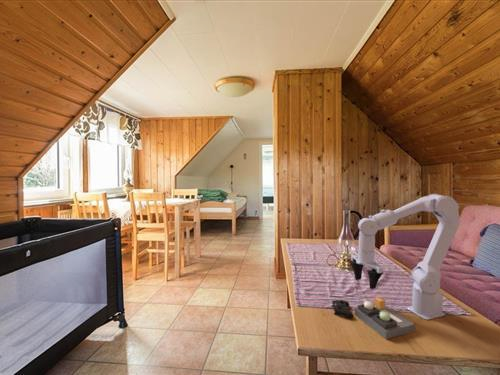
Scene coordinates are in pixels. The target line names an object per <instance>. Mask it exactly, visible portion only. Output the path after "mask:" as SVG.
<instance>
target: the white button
mask: <svg viewBox="0 0 500 375" xmlns="http://www.w3.org/2000/svg"><path fill="white" fill-rule="evenodd" d="M363 304H364V308H365V309H366V310H370V311H371V310H373V304H374V303H373V302H372V301H369V300H365V301H363Z"/></svg>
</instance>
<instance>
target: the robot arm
mask: <svg viewBox="0 0 500 375" xmlns="http://www.w3.org/2000/svg"><path fill="white" fill-rule="evenodd" d="M459 208H460V205H459V203H457V201H456V200H455V199H454V198H453V197H452V196H449V195H442V194H438V193H431V194H429V195H427V196H426V195H425V196H422V197H420V198H418V199H416V200H414V201H411V202H409V203H407V204H405V205H403V206H401V207H399V208H397V209H395V210H391V209H381V210H380V212H379V213H375V214H374V215H368V217H364V218H361V219H360V220H359V221H358V223H357V227H358V230H359V232H358V235H359V236H358V253H357V254H351V255H350V260H351V261H350V262H349V263H350V266H351V268H352V270H353V273H354V274H353V275H354V278H355V280H356V281H360V280H362V276H363V275H362V274H363V268H364V266H365V267H367V268H370V269H368V270H367V271H366V272H367V274H368V279H369V281H368V282H369V285H368V286H369V288H370V289H371V290H374V289H376V288H377V285H378V282H379V280H380V278H381V277H382V275H383V274H384V267H383V266H382V265H380V264H378V263H377V262H376V261H375V254H376V253H375V251H376V234H377V232H378V231H380V230H383V229H386V228H388V227H390V226H393V225H395V224H397V223H398V221H399V219H402V218H405V217H408V216H410V215H414V214H416V213H419V212H429V213H432V214H434V215H435V218H437V220H438V225H437V227H436V230H435V232H434V234H433V236H432V239H431V241H430V244H429V246H428V248H427V250H426V252H425V254H424V257H423V260H421V261H419V262H418V263H417V265H416V266H415V267H414V268H412V270H411V272H410V277H411V280H413V285H412V297H411V300H412V302H411V306H407V307H405V309H406V310H408V311H410V312H411V313H413V314H414V315H416V316H418V317H419V318H422V319H424V320H426V321H428V320H431V319H432V320H433V319H436V318H440V317H444V316H445V315H446V314H445V313H444V312H443V308H444V297H443V294H442V292H441V291H440V289H441V279H442V272H441V266H442V264H443V262H444V260H445V258H446V256H447V254H448V251H449V249H450V247H451V244H452V242H453V240H454V238H455V236H456V234H457V232H458V229H459V226H460V224H461V219H460V212H459Z"/></svg>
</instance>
